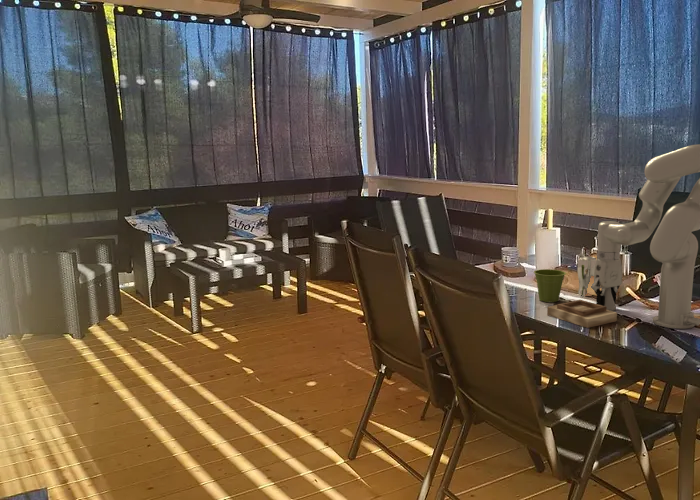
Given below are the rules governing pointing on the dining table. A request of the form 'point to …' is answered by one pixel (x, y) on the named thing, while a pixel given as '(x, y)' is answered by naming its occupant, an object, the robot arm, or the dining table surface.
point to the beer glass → (585, 273)
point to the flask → (609, 300)
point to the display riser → (582, 313)
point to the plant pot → (549, 284)
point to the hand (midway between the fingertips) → (606, 303)
